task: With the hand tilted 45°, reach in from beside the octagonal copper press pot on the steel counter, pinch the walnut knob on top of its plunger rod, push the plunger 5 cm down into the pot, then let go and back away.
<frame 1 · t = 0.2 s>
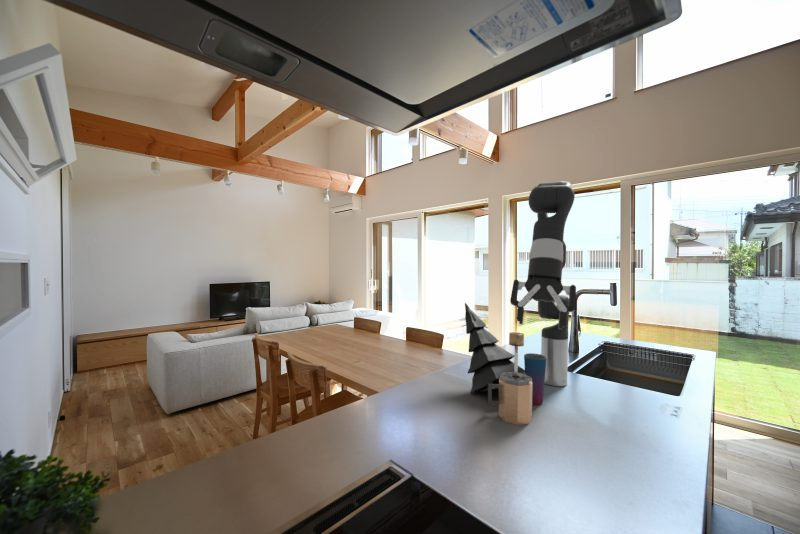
hand: (540, 326, 79), 30 cm above the counter, tool tilted 15°, fingers open, 8 cm apart
cup: (534, 402, 110), on the counter
decorative tree: (485, 390, 119), on the counter
plunger: (516, 364, 98), point 16 cm above the counter, slide at 0.0 cm
press pot: (515, 417, 99), on the counter
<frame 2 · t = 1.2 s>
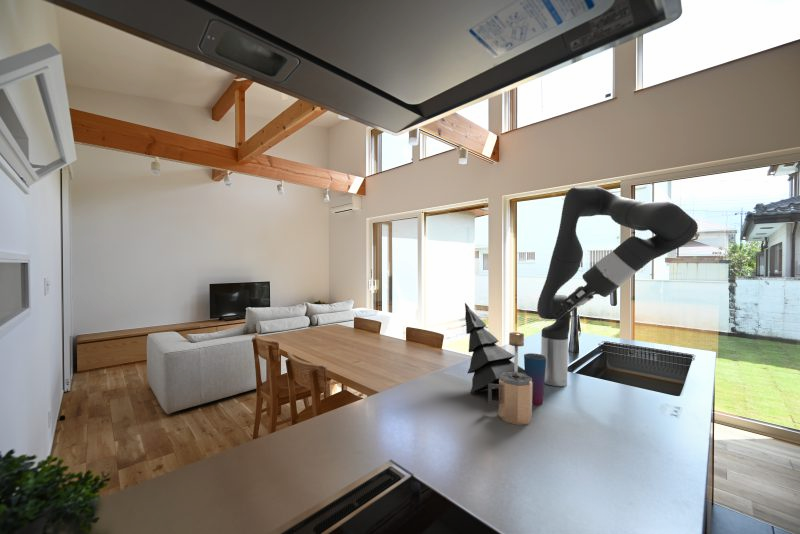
hand: (558, 315, 91), 31 cm above the counter, tool tilted 45°, fingers open, 8 cm apart
nothing on the counter moved.
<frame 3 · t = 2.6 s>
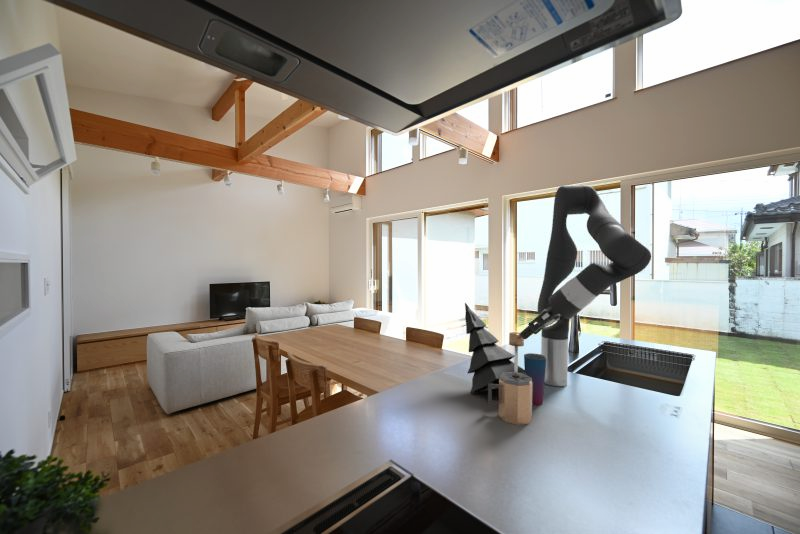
hand: (527, 334, 96), 25 cm above the counter, tool tilted 45°, fingers open, 8 cm apart
nothing on the counter moved.
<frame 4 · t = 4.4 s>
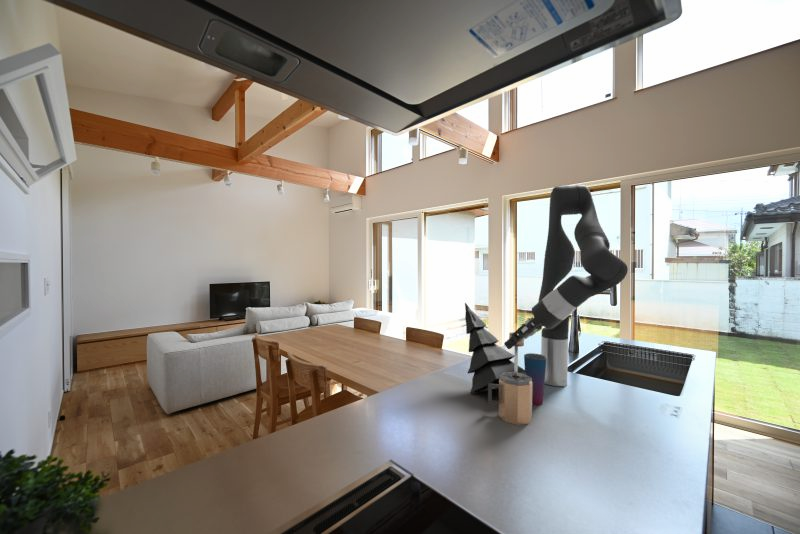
hand: (509, 344, 99), 21 cm above the counter, tool tilted 45°, fingers closed on plunger, 4 cm apart
plunger: (516, 364, 98), point 16 cm above the counter, slide at 0.0 cm, touching gripper
everything else where it was.
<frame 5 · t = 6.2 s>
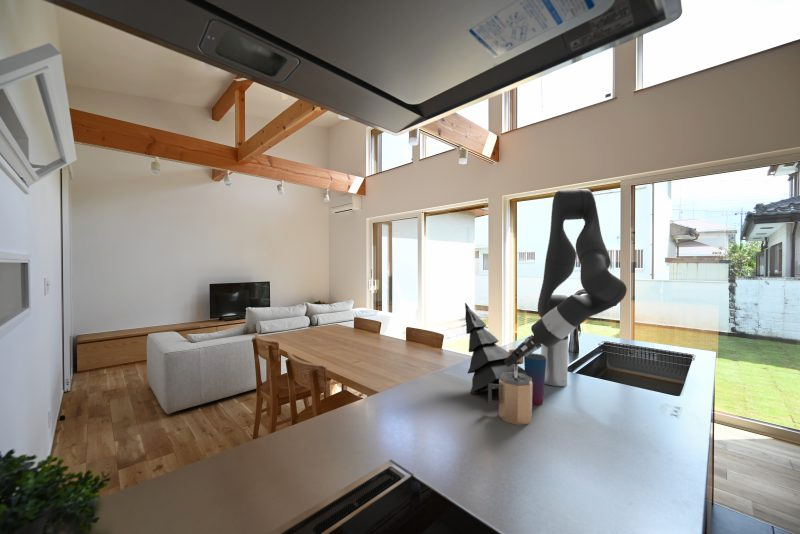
hand: (509, 361, 99), 16 cm above the counter, tool tilted 45°, fingers closed on plunger, 4 cm apart
plunger: (515, 382, 98), point 10 cm above the counter, slide at 5.1 cm, touching gripper
everything else where it was.
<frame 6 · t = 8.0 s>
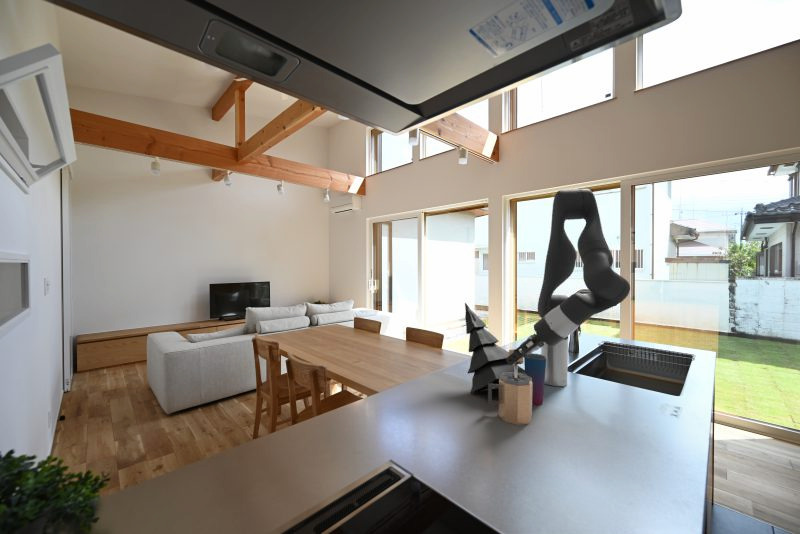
hand: (513, 359, 99), 17 cm above the counter, tool tilted 45°, fingers open, 8 cm apart
plunger: (515, 381, 98), point 10 cm above the counter, slide at 5.1 cm
everything else where it was.
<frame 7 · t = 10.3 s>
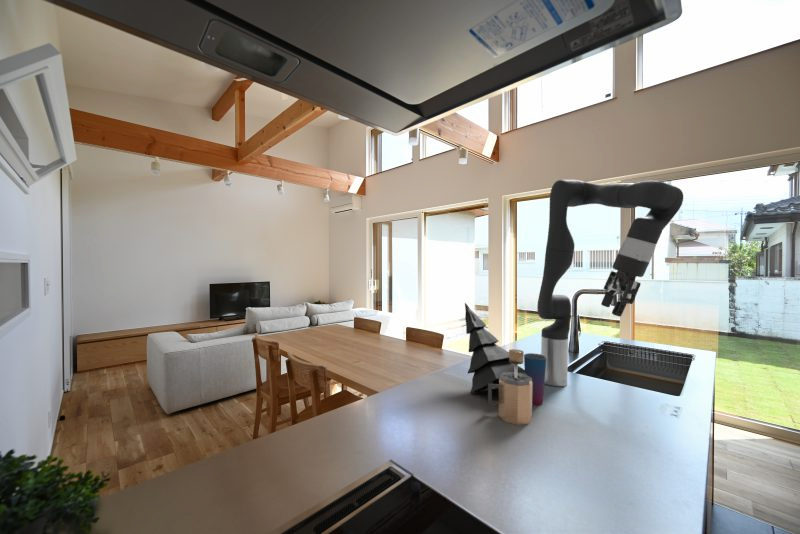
hand: (610, 310, 95), 32 cm above the counter, tool tilted 20°, fingers open, 8 cm apart
nothing on the counter moved.
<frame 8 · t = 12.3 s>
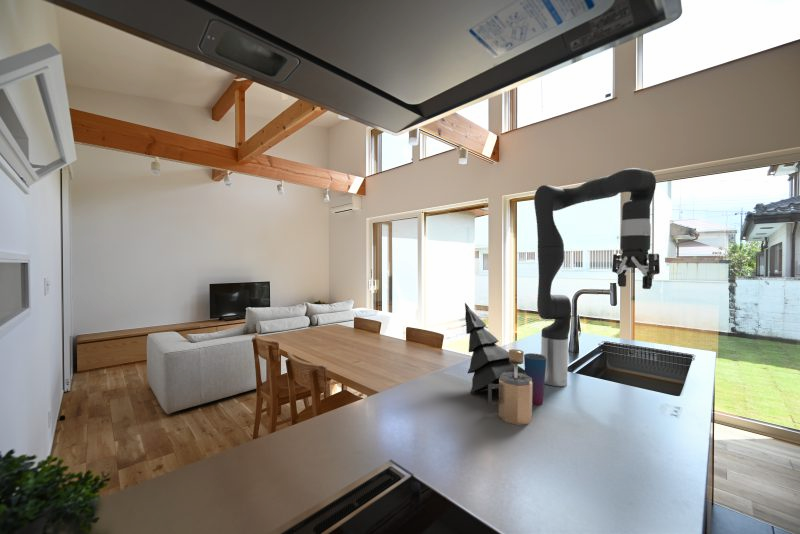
hand: (633, 287, 103), 38 cm above the counter, tool pointing down, fingers open, 8 cm apart
nothing on the counter moved.
at the end: plunger slide at 5.1 cm; the gripper is holding nothing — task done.
